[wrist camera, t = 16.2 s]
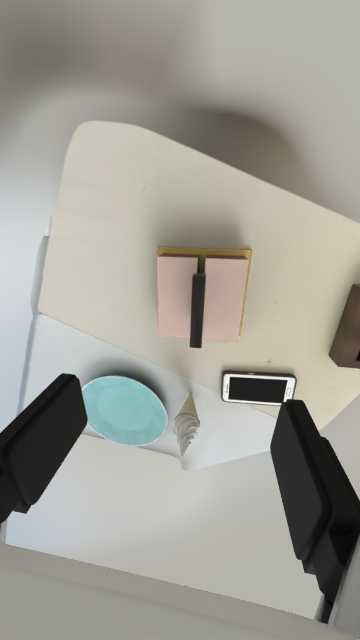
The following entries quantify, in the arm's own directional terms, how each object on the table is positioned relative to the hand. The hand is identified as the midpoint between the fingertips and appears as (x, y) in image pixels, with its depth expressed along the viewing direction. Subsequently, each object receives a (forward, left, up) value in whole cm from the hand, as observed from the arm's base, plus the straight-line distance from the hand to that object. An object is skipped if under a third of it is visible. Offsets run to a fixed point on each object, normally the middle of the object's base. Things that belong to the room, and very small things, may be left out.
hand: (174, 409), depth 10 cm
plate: (+34, -17, -32) cm, 49 cm away
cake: (+4, 0, -32) cm, 32 cm away
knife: (+4, 0, -31) cm, 32 cm away
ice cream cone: (+28, -1, -32) cm, 42 cm away
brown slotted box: (+8, +28, -32) cm, 43 cm away
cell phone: (+24, +13, -32) cm, 42 cm away
